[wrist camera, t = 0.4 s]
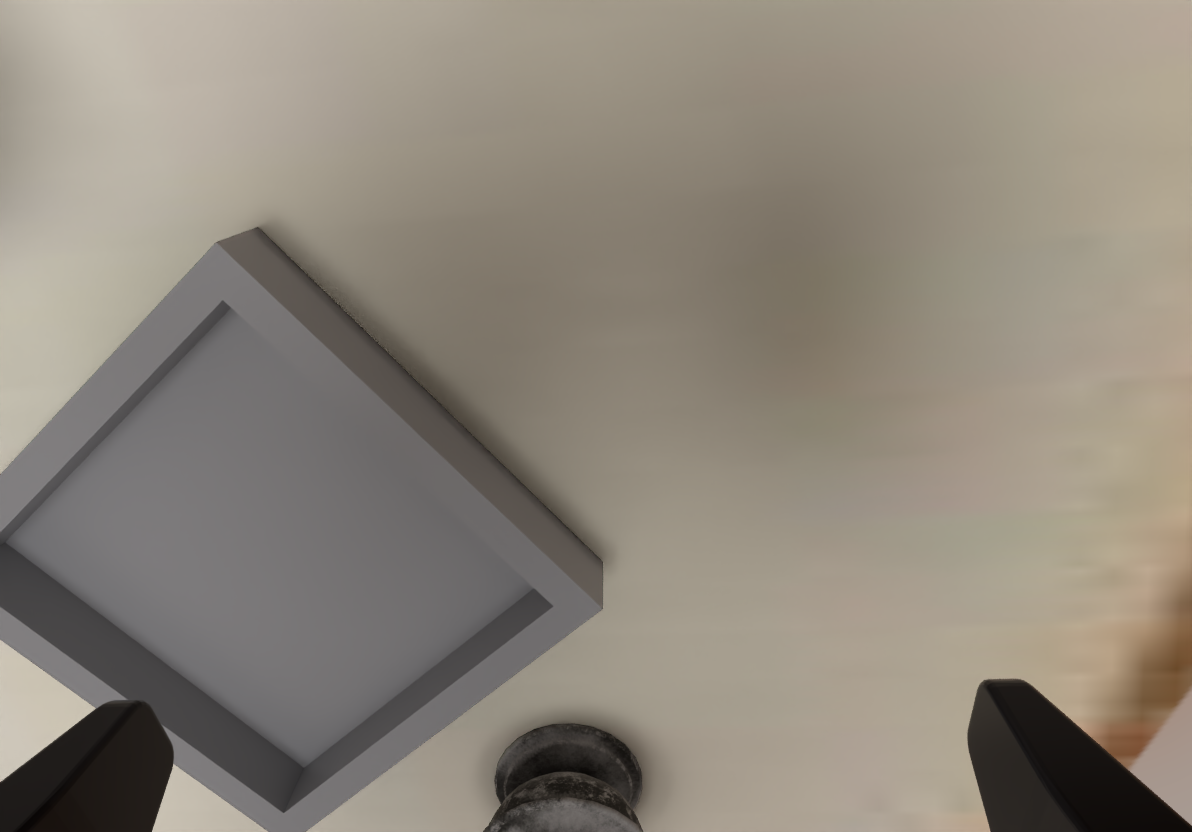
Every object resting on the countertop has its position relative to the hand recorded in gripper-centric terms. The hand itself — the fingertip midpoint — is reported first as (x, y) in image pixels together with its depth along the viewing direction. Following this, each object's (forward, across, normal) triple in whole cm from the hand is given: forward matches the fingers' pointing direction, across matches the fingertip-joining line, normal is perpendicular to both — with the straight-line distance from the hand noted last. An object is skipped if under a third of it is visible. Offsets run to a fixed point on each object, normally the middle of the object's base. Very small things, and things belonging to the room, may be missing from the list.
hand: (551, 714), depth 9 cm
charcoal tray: (+13, +10, +8) cm, 19 cm away
